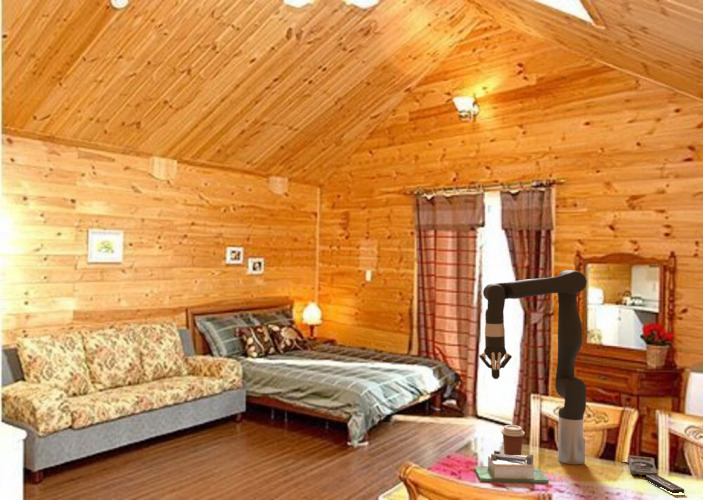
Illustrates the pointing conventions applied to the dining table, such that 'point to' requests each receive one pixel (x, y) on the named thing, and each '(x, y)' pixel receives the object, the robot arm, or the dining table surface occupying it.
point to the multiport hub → (664, 483)
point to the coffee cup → (512, 439)
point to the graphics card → (642, 466)
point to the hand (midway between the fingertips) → (495, 378)
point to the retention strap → (511, 457)
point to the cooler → (510, 470)
